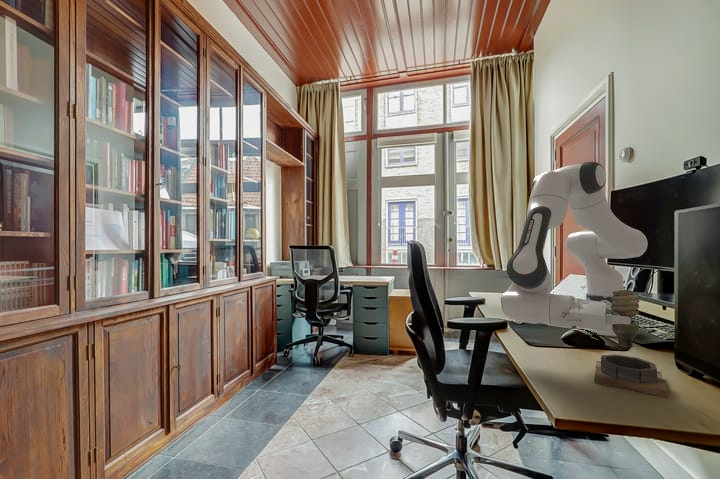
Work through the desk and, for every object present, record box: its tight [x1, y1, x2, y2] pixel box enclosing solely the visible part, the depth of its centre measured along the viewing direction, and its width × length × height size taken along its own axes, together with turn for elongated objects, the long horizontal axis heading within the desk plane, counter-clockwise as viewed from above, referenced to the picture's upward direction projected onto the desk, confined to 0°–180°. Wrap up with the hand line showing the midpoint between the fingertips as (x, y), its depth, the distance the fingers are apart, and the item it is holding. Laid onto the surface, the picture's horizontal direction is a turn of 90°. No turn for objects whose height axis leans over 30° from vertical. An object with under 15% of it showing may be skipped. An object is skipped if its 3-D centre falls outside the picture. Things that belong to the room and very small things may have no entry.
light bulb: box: [611, 289, 640, 351], centre depth 79 cm, size 6×6×15 cm
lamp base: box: [594, 353, 669, 399], centre depth 79 cm, size 13×13×4 cm
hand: (630, 317), depth 79 cm, fingers closed on light bulb, 5 cm apart
